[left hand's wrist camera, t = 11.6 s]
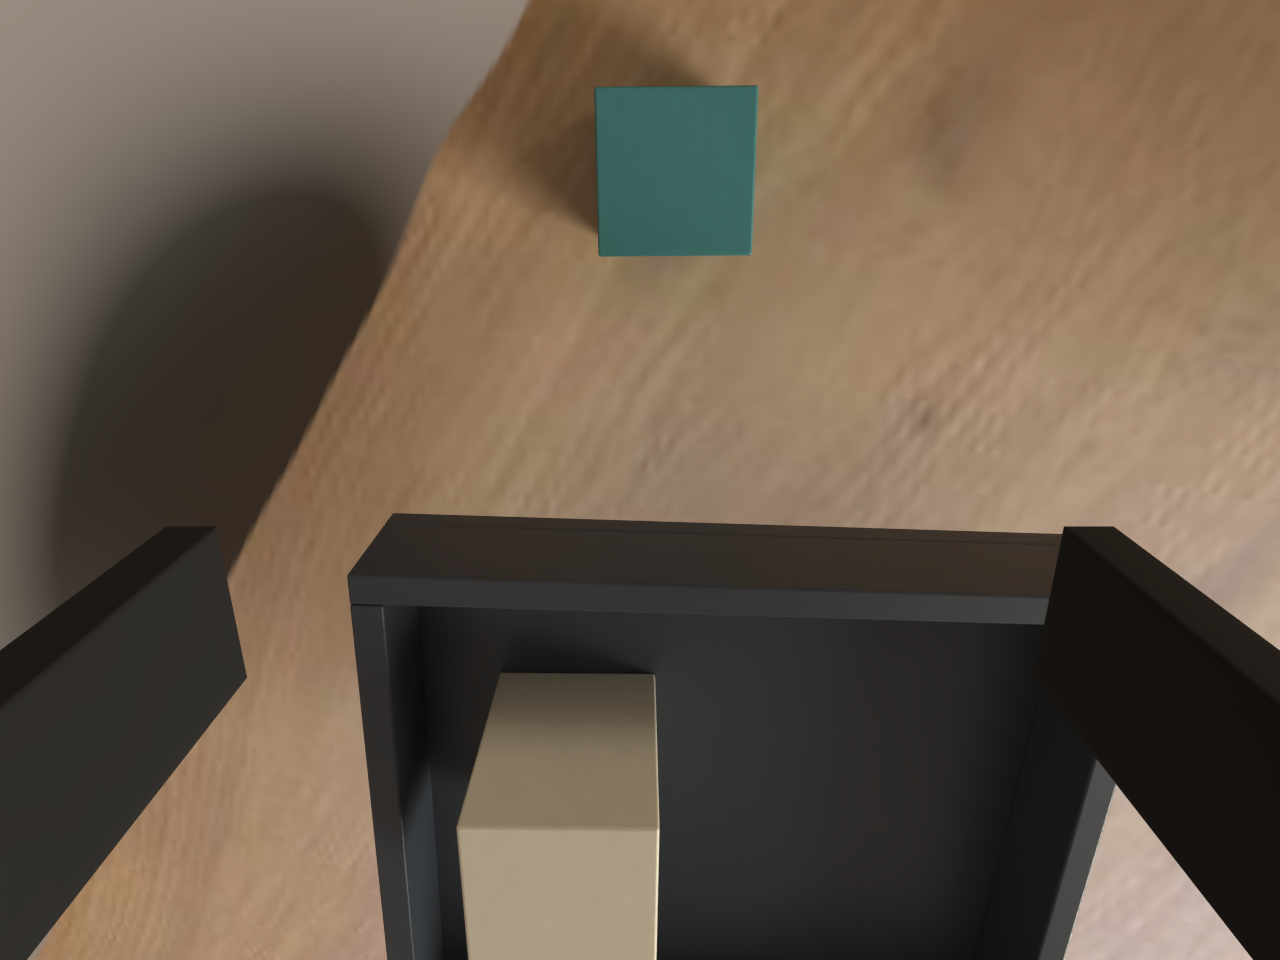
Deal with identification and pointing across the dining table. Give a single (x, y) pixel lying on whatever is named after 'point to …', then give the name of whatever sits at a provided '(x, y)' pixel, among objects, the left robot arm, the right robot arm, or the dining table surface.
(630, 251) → the teal block
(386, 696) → the tray
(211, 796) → the dining table surface
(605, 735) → the cream block
